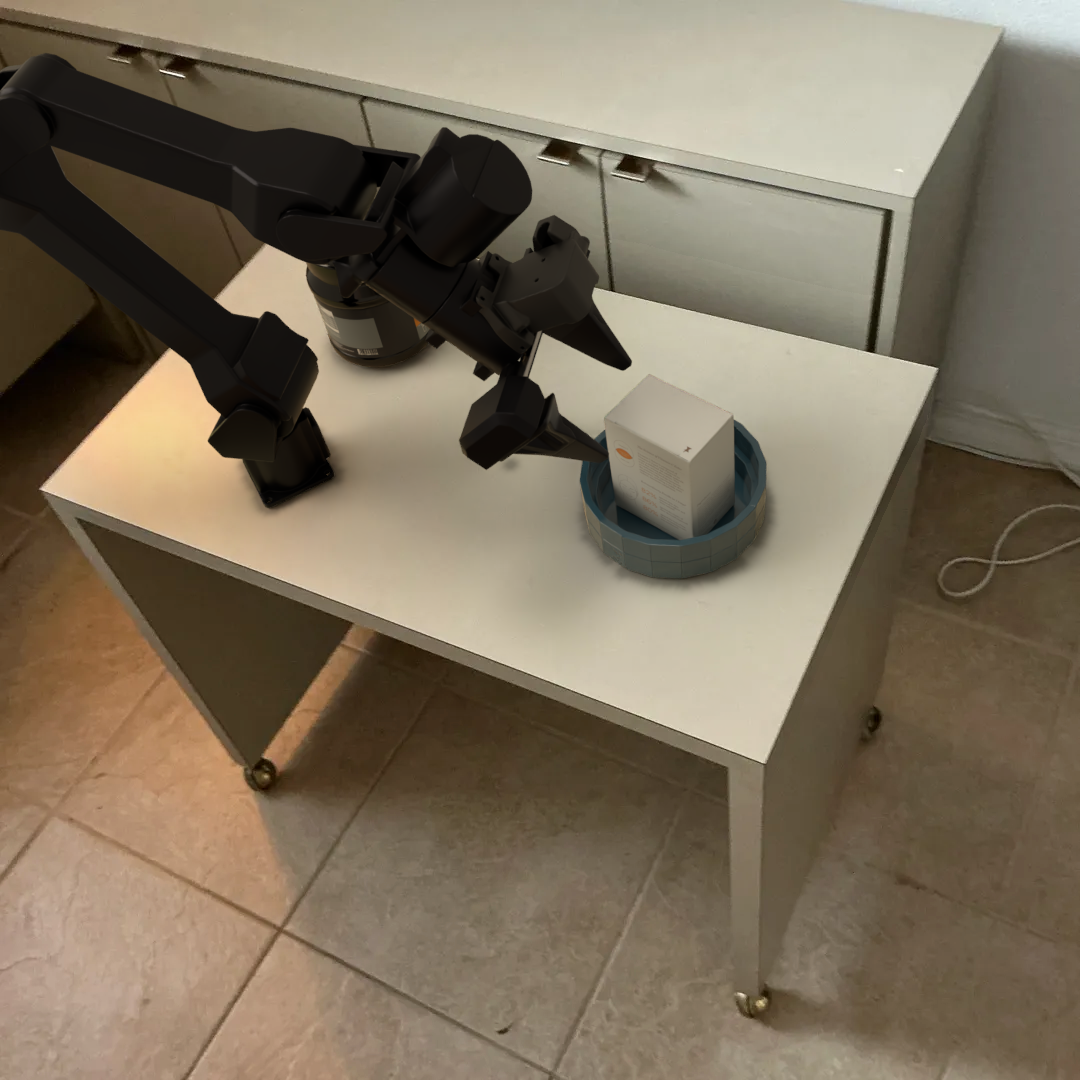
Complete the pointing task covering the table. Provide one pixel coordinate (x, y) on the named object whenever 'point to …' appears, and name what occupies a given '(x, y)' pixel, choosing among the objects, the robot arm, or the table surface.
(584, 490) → the bowl
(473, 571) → the table surface
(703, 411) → the small box
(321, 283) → the supplement container
